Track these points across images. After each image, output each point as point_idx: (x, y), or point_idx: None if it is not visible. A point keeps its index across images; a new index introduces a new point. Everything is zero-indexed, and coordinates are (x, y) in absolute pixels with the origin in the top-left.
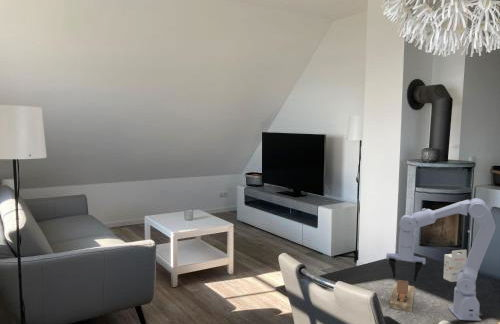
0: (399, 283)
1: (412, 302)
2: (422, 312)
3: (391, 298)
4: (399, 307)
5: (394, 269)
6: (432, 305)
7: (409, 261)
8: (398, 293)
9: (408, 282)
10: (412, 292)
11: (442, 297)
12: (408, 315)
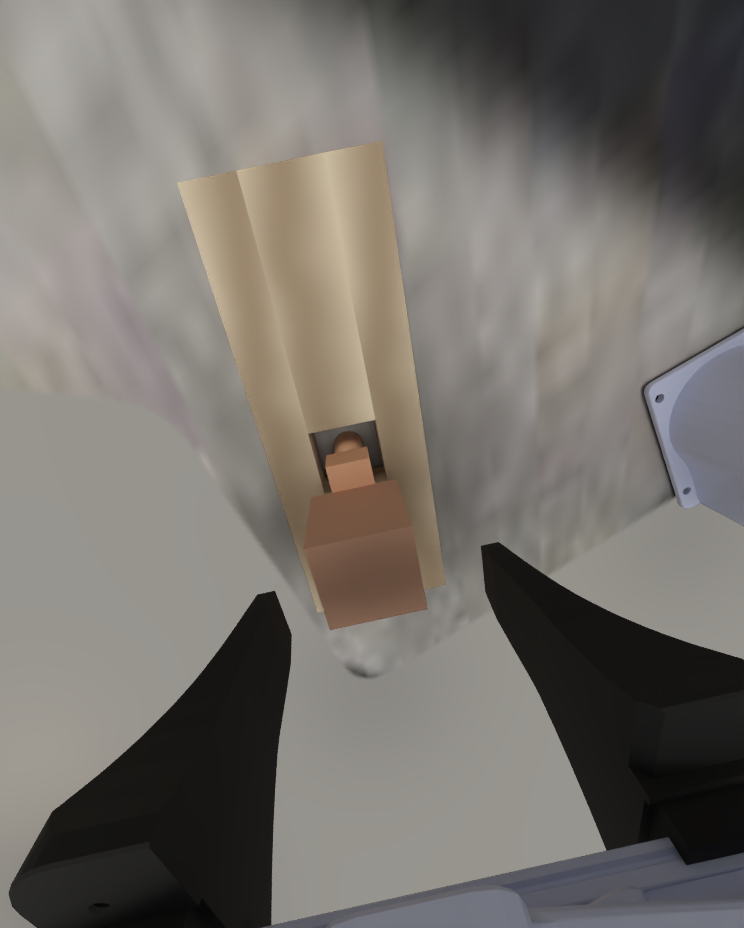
0: (350, 624)
1: (437, 527)
2: (491, 534)
3: (301, 552)
4: None
5: (270, 764)
6: (542, 396)
7: (526, 897)
8: (308, 432)
9: (412, 530)
10: (400, 339)
11: (620, 160)
12: (430, 608)
